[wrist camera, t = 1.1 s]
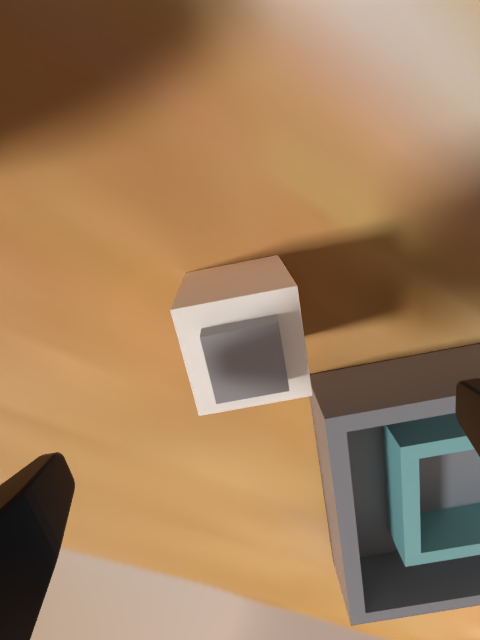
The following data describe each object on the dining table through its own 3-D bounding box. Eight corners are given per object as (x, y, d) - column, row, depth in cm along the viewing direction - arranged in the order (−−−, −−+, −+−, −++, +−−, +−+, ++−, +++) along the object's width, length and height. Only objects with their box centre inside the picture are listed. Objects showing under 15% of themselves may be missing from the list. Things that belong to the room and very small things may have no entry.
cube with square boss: (277, 254, 16) (301, 292, 11) (290, 338, 18) (317, 407, 12) (185, 272, 16) (166, 317, 11) (205, 354, 18) (197, 428, 13)
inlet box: (603, 321, 18) (688, 354, 14) (568, 522, 22) (626, 581, 19) (306, 375, 18) (324, 419, 15) (333, 561, 23) (351, 625, 20)
